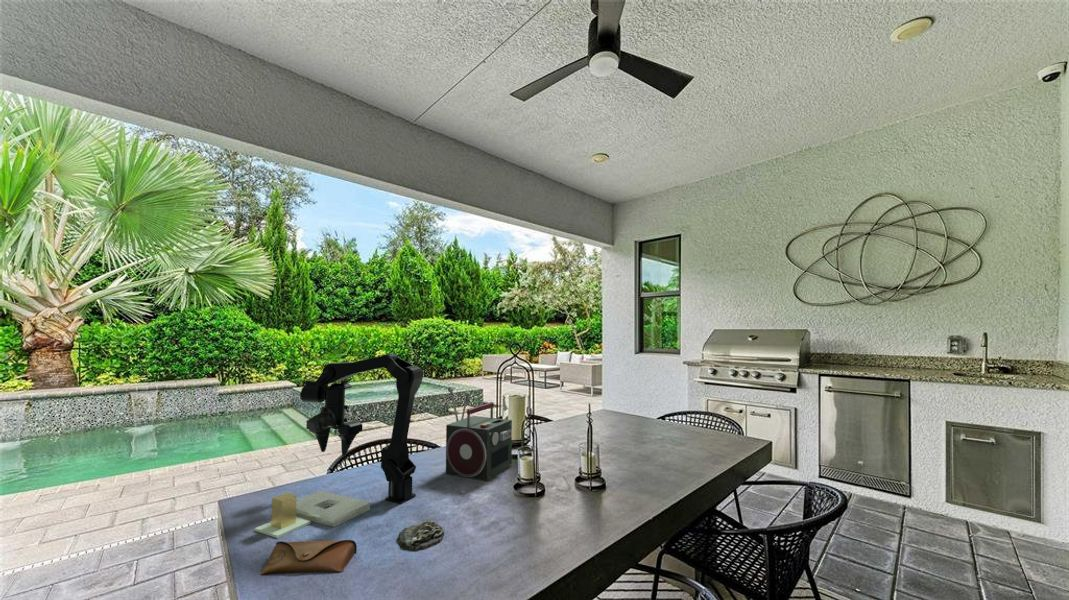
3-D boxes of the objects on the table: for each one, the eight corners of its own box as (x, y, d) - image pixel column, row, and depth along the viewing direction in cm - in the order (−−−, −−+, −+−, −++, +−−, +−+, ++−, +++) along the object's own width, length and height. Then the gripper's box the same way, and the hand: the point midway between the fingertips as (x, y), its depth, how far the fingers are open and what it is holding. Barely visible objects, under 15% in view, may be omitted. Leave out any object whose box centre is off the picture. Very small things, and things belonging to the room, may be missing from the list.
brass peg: (295, 522, 113) (296, 495, 113) (281, 529, 109) (282, 500, 110) (285, 519, 115) (286, 492, 115) (270, 526, 111) (271, 498, 112)
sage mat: (310, 523, 114) (310, 520, 114) (277, 538, 106) (277, 535, 106) (288, 516, 118) (288, 514, 118) (254, 530, 110) (254, 528, 110)
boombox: (490, 482, 144) (490, 391, 146) (439, 473, 153) (440, 387, 155) (515, 466, 160) (515, 384, 162) (468, 459, 169) (469, 381, 171)
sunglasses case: (254, 576, 90) (264, 539, 94) (269, 577, 96) (278, 542, 99) (344, 572, 91) (350, 536, 95) (353, 573, 97) (359, 539, 101)
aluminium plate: (369, 509, 123) (370, 502, 123) (333, 527, 112) (334, 519, 112) (321, 497, 131) (321, 490, 131) (283, 512, 120) (283, 505, 121)
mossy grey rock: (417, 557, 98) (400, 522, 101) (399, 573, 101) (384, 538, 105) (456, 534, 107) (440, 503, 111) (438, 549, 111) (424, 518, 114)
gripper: (291, 404, 133) (289, 456, 132) (333, 409, 125) (332, 465, 124) (322, 399, 143) (321, 447, 142) (364, 403, 135) (363, 454, 134)
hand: (333, 453), depth 136 cm, fingers open, 9 cm apart
